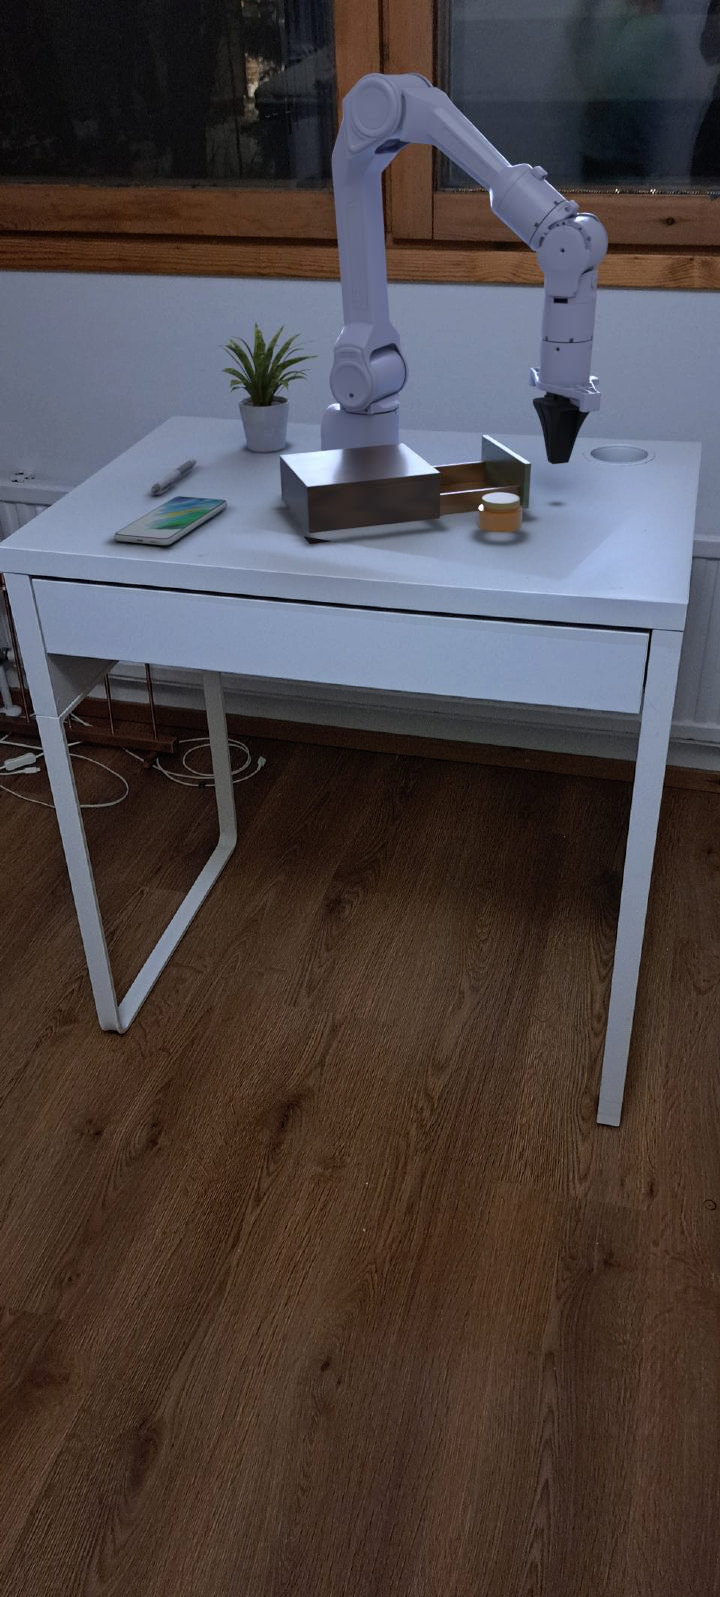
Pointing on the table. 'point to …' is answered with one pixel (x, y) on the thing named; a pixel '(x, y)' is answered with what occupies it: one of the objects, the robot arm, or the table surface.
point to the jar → (500, 512)
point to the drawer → (484, 479)
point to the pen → (172, 477)
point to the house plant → (264, 391)
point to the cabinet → (359, 488)
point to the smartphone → (171, 520)
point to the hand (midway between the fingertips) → (558, 462)
